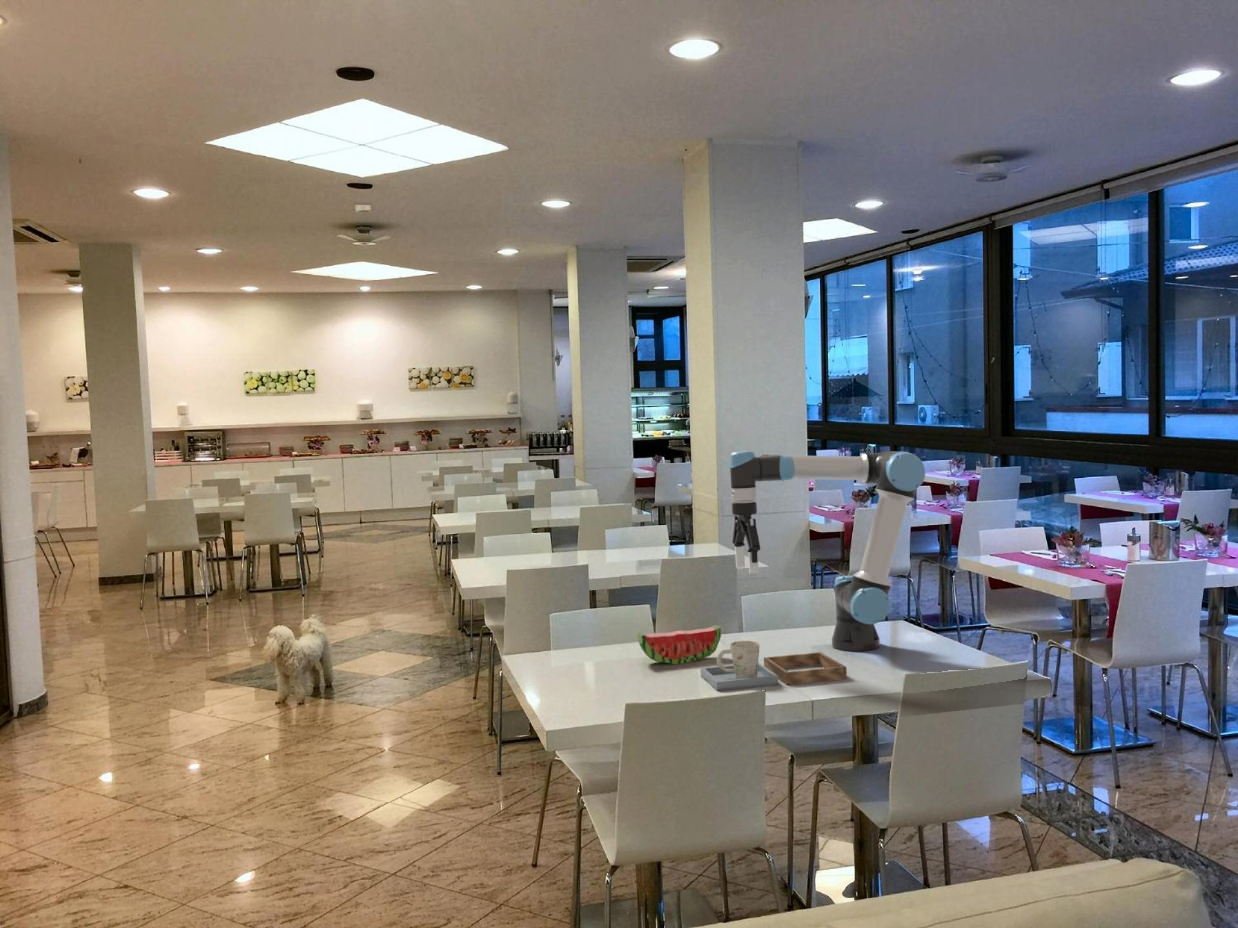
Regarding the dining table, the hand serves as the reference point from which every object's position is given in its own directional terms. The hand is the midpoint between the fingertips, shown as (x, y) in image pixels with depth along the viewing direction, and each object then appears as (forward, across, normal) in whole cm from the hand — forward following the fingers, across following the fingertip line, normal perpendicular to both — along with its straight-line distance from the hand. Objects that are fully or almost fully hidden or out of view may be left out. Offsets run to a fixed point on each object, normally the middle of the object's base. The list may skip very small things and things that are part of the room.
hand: (747, 570), depth 305 cm
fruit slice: (+29, -10, -20) cm, 37 cm away
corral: (+29, +19, +10) cm, 36 cm away
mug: (+28, +19, -10) cm, 35 cm away
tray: (+29, +19, -10) cm, 36 cm away
